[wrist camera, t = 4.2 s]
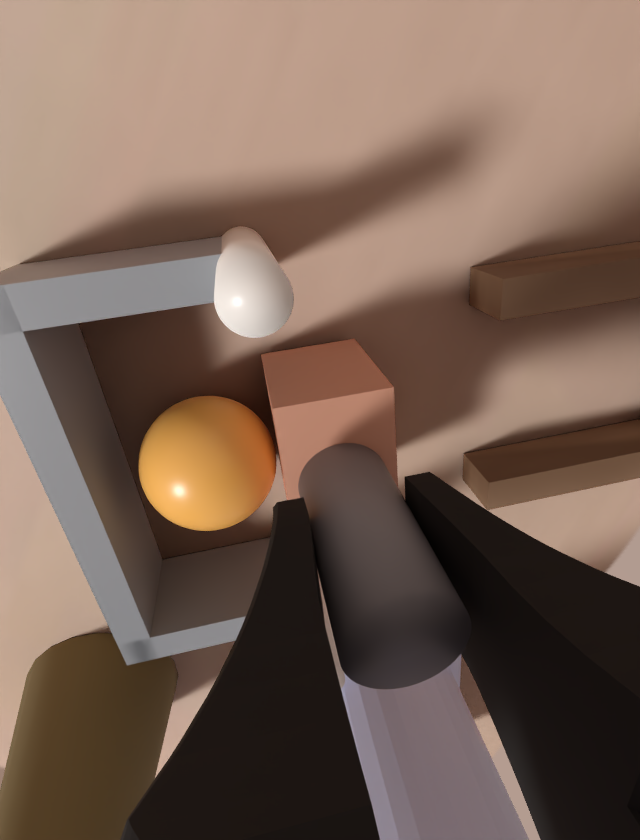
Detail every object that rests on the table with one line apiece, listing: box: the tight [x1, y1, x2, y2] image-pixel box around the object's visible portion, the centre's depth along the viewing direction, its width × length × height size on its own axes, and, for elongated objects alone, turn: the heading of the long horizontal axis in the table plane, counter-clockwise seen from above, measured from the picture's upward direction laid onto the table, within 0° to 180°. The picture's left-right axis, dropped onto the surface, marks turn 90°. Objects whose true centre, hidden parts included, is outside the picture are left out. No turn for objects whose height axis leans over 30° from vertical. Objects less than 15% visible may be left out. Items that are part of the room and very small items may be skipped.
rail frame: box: [463, 241, 640, 510], centre depth 17 cm, size 8×8×2 cm
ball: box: [138, 396, 276, 531], centre depth 14 cm, size 4×4×4 cm
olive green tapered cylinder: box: [0, 633, 178, 840], centre depth 16 cm, size 6×6×11 cm
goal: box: [0, 226, 345, 688], centre depth 13 cm, size 12×7×6 cm, turn 6°
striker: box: [261, 339, 472, 689], centre depth 12 cm, size 5×3×9 cm, turn 6°
